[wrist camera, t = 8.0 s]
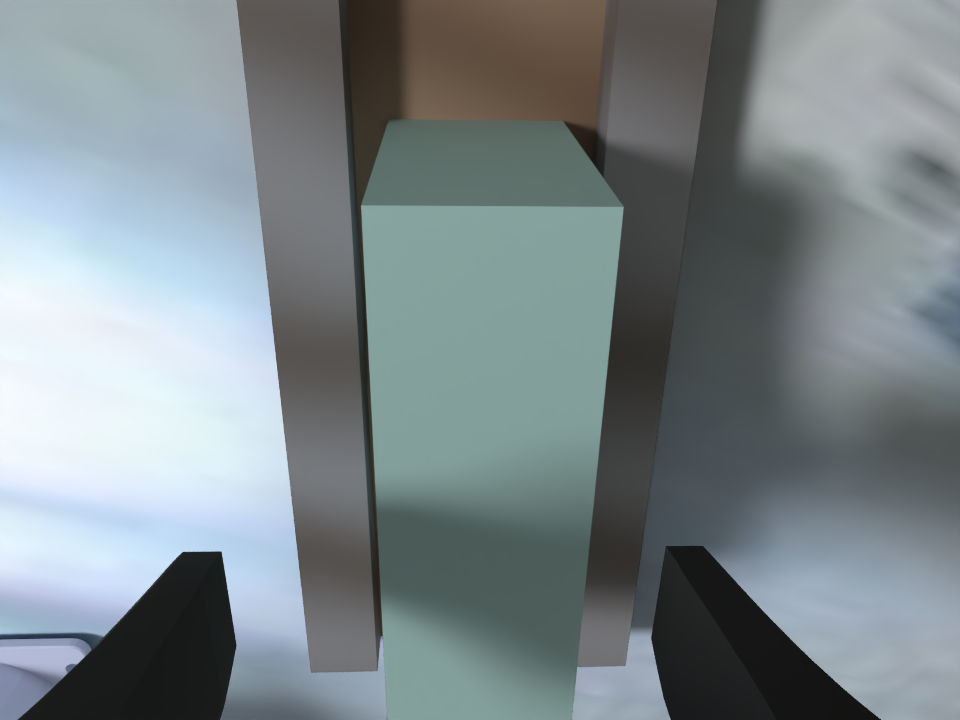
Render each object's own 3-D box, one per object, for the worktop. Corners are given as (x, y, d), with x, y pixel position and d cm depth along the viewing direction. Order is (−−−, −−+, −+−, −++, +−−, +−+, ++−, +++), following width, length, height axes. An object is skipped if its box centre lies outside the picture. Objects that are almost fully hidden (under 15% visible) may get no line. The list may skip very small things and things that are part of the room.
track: (620, 622, 26) (631, 665, 25) (312, 628, 26) (304, 672, 24) (710, -70, 17) (737, -72, 16) (238, -79, 17) (216, -82, 15)
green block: (536, 532, 24) (569, 737, 18) (402, 534, 24) (388, 741, 18) (563, 120, 18) (623, 207, 12) (389, 119, 18) (361, 205, 12)
